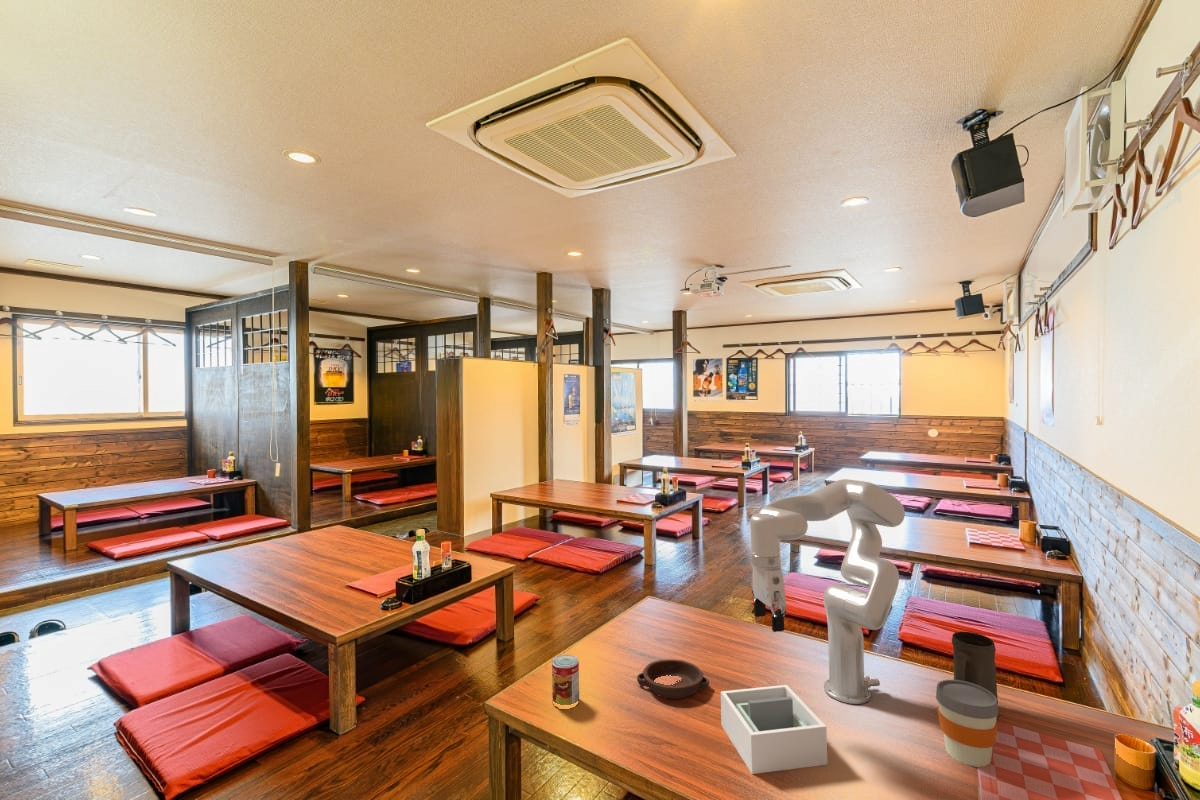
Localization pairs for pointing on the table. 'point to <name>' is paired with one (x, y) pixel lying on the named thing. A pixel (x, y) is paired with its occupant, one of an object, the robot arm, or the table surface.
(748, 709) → the small crate
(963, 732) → the reusable coffee cup
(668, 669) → the dish
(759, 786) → the table surface
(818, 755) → the big crate
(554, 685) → the canned food
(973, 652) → the beer stein
